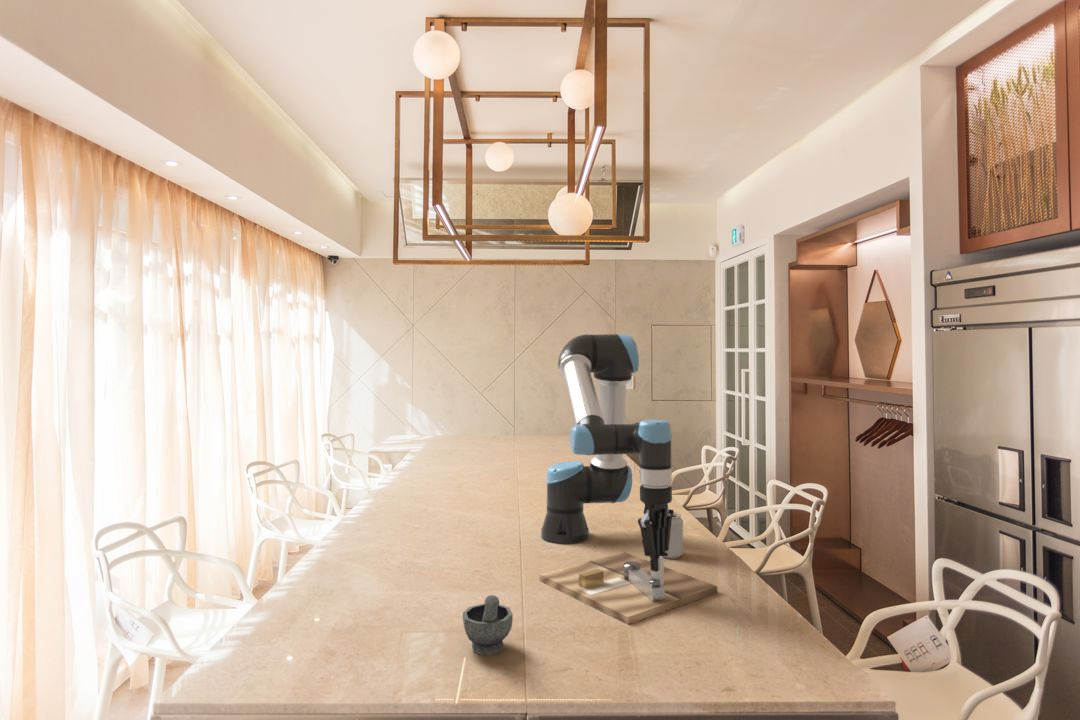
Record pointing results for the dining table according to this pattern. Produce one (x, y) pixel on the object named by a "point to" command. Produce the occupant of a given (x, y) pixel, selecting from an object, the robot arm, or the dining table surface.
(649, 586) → the bar
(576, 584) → the door board
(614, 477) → the robot arm
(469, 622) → the mortar and pestle
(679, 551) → the can
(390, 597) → the dining table surface
